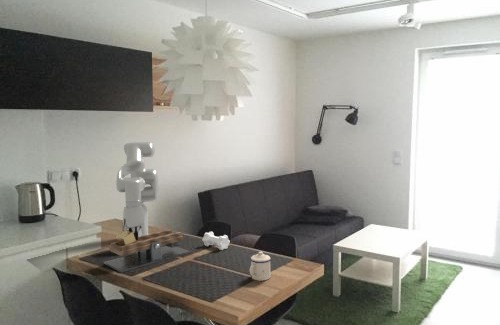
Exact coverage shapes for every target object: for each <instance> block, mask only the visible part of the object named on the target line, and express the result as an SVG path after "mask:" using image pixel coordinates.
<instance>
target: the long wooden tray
mask: <svg viewBox="0 0 500 325" xmlns="http://www.w3.org/2000/svg"><path fill="white" fill-rule="evenodd" d="M157 241H160V242H161V247H163V246H168V247H171V248H173V247H180V246H182V241H184V235H182V232H181V231H179V232H173V229H172V228H171V229H166V230H162V231H158V232H154V233H149V235H144V236H140V237H138V240H136V243H133V244H129V245H125V246H119V244H118V241H115V242H110V246H109V252H111V253H114V254H116V255H118V256H120V257H125V256H129V255H132V254H136V252H139V251H143V250H147V249H150V248H151V245H150V243H153V242H157Z"/></svg>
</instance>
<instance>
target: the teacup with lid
mask: <svg viewBox="0 0 500 325" xmlns="http://www.w3.org/2000/svg"><path fill="white" fill-rule="evenodd" d="M271 260H272V258H271V257H270V255H268V254H265V253H264V252H263V251H258V253H257V254H253V255H252V256H251V257H250V267H249V274H250V275H251V276H250V278H251V279H252V280H254V281H259V282H260V281H268V280H269V279H270V278H271Z"/></svg>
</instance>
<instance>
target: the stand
mask: <svg viewBox="0 0 500 325" xmlns="http://www.w3.org/2000/svg"><path fill="white" fill-rule="evenodd" d="M150 245H151V248H150V249H147V250H143V251H139V252H135V253H132V254H128V255H124V256H120V257H117V258H113V259H110V260H105V261H103V264H104V265H106V266H107V267H109V268H112V269H113V270H115V271H117V272H118V273H120V274H121V273H125V272H127V271H128V272H129V271H131V270H132V271H133V270H136V269H139V268H143V267H145V266H150V265H153V264H156V263H159V262H160V263H161V262H164V261H167V260H171V259H174V258H177V257H181V256H185V255H188V254H189V255H190V254H191V251H190V250H188V249H185V248H182V247H180V246H177V247H173V248H171V247H168V246H165V245H163V246H161V242H160V241H157V242H153V243H150Z"/></svg>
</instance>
